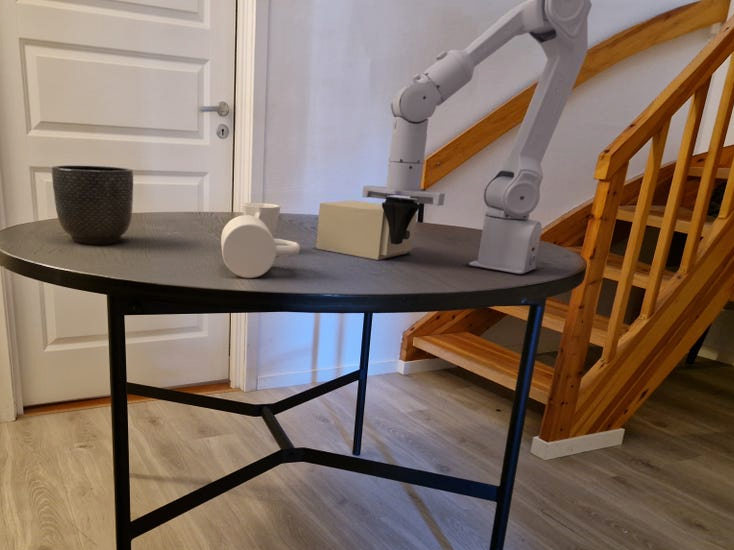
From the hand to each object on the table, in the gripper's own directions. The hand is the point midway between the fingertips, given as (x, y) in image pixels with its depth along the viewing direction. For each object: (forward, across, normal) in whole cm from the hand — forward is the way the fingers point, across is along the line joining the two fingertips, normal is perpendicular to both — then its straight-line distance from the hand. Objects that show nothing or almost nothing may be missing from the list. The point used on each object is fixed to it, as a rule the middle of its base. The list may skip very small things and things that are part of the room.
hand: (396, 243), depth 108 cm
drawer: (+3, -8, +5) cm, 10 cm away
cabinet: (+3, -10, +5) cm, 12 cm away
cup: (+3, -22, -12) cm, 25 cm away
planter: (+3, -46, -30) cm, 55 cm away
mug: (+3, -10, -26) cm, 28 cm away
